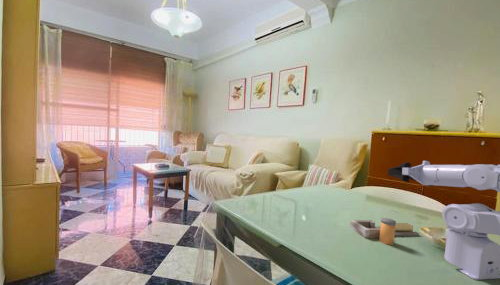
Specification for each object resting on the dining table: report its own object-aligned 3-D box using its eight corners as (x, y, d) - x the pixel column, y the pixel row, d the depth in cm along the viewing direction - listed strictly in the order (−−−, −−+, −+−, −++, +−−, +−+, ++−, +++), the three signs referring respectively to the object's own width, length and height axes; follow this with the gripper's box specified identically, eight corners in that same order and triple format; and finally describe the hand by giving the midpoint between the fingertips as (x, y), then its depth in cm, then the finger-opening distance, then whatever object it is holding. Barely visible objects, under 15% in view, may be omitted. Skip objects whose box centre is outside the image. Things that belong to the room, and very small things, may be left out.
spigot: (396, 247, 66) (399, 222, 66) (385, 247, 66) (387, 222, 65) (386, 241, 70) (389, 217, 70) (376, 241, 69) (378, 217, 69)
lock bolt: (412, 233, 75) (413, 225, 75) (390, 233, 74) (391, 226, 74) (405, 230, 78) (406, 222, 78) (384, 230, 76) (385, 222, 76)
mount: (424, 239, 73) (425, 229, 73) (364, 240, 69) (365, 229, 69) (404, 229, 81) (405, 220, 80) (349, 229, 77) (350, 220, 76)
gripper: (461, 164, 67) (415, 164, 80) (424, 156, 63) (381, 158, 75) (461, 189, 66) (414, 185, 79) (423, 183, 62) (380, 180, 74)
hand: (398, 173), depth 77 cm, fingers open, 7 cm apart
